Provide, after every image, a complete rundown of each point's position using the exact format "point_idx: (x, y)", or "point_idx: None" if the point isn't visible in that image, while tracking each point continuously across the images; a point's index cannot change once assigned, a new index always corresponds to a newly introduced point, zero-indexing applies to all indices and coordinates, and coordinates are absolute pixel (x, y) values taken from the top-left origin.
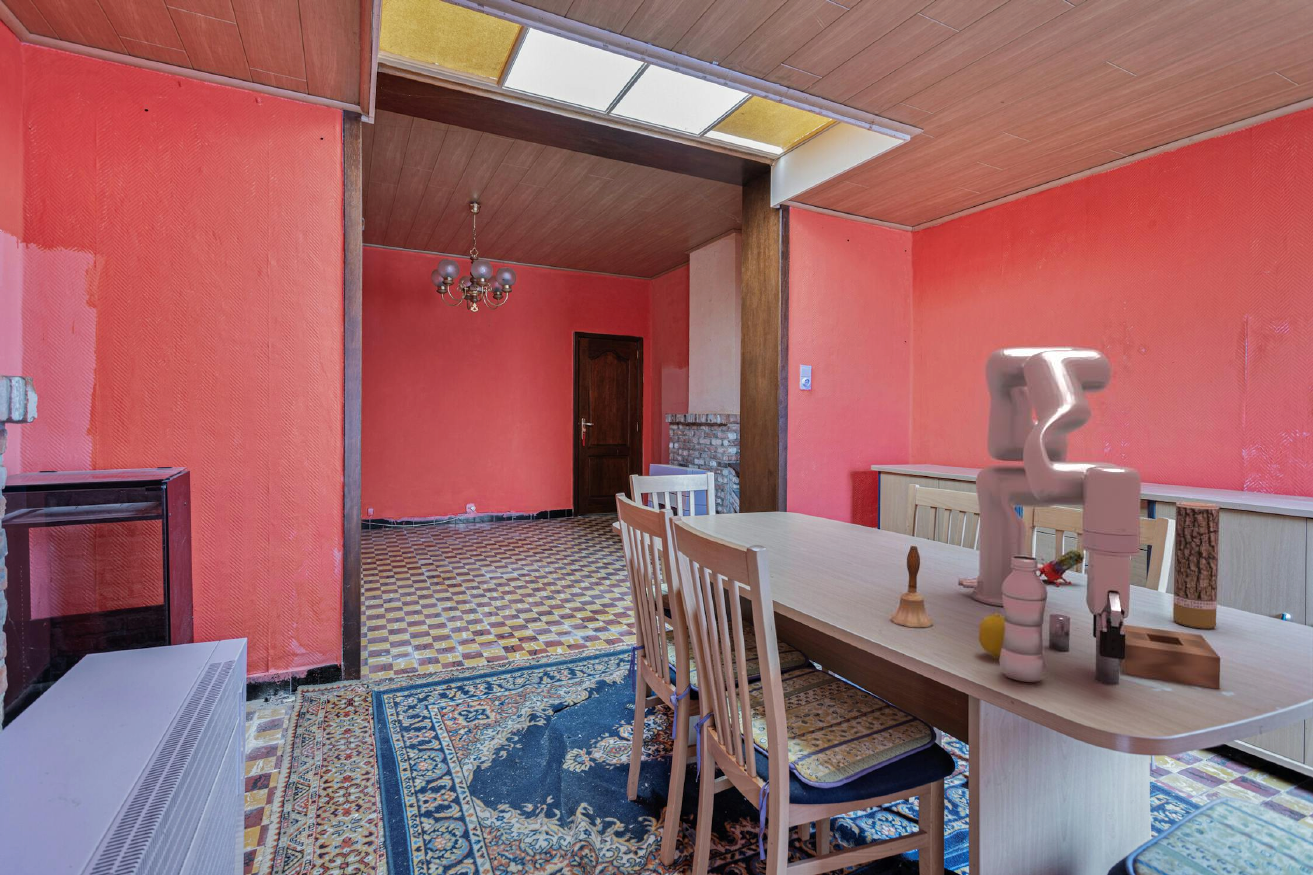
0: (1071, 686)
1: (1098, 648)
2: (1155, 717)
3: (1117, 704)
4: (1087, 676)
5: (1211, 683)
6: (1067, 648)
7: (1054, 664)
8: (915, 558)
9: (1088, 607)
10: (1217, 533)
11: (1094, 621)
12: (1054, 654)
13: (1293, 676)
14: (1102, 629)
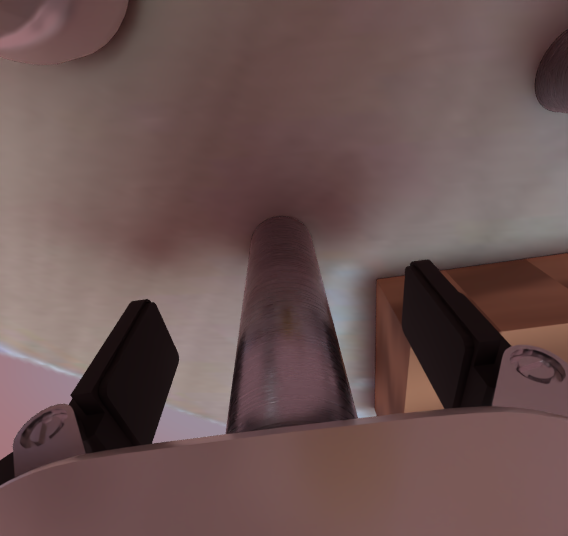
0: (145, 159)
1: (255, 283)
2: (103, 336)
3: (109, 275)
4: (285, 195)
5: (377, 408)
6: (553, 107)
7: (349, 74)
8: None
9: (215, 449)
10: None
11: (450, 312)
12: (487, 58)
13: None
14: (68, 413)
